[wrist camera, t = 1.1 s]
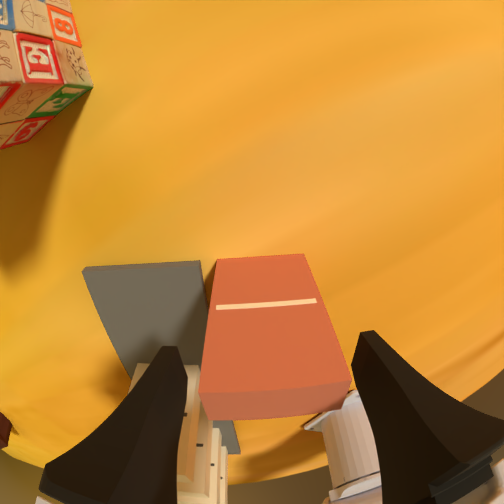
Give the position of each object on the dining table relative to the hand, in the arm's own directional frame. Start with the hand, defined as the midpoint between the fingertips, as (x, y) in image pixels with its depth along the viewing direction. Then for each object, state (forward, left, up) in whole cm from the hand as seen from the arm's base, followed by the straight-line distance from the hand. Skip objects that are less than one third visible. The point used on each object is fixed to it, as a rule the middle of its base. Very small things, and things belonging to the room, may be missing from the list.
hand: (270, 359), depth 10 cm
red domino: (0, 0, -7) cm, 7 cm away
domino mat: (-1, +15, -7) cm, 17 cm away
